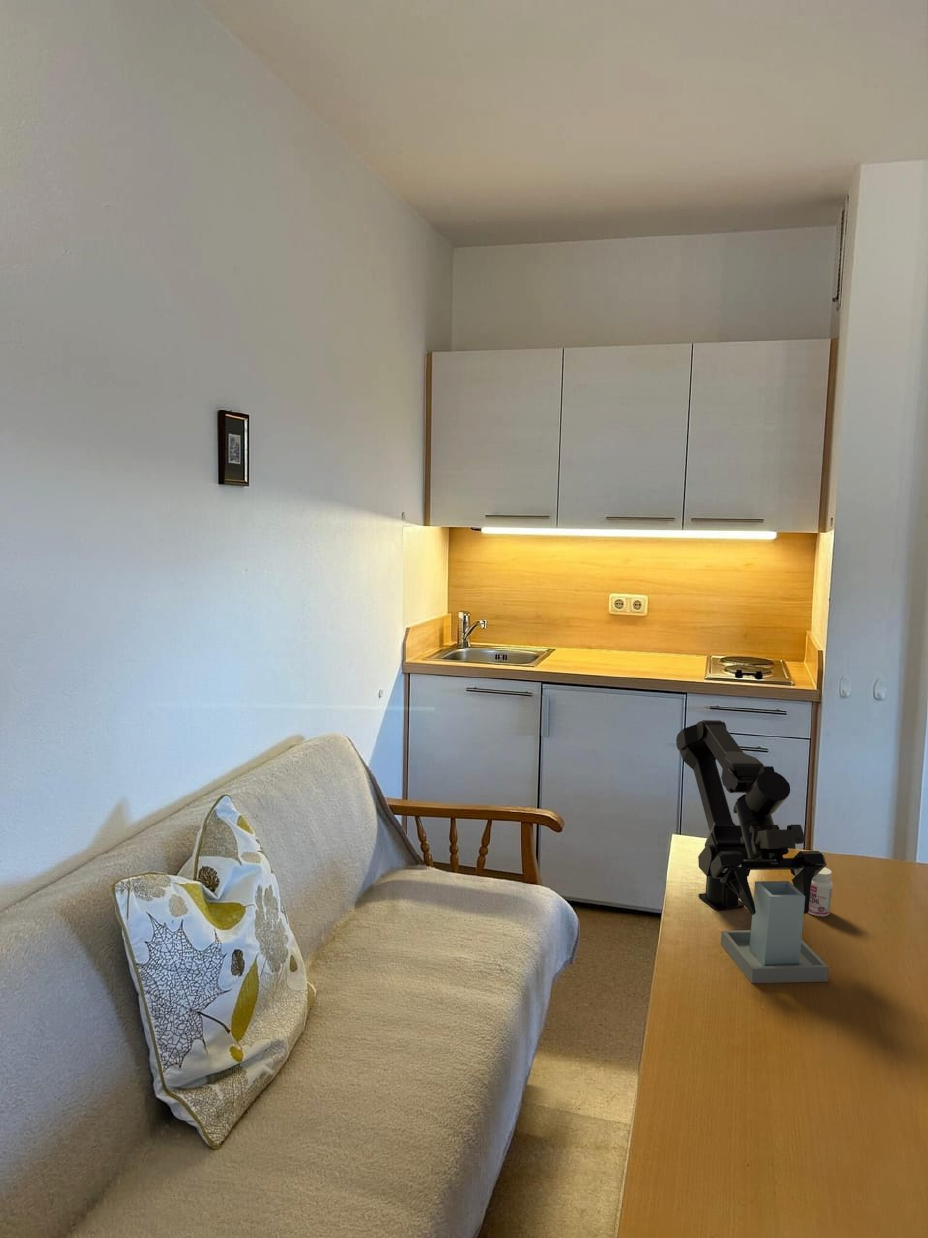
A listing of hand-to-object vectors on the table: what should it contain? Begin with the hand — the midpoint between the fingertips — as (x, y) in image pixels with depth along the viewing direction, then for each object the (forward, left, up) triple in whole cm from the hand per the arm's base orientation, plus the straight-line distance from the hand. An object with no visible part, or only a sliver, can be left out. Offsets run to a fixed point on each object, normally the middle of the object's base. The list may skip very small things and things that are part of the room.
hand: (780, 913), depth 151 cm
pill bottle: (-16, +21, -10) cm, 28 cm away
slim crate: (-1, 0, -9) cm, 9 cm away
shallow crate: (-1, 0, -9) cm, 9 cm away
